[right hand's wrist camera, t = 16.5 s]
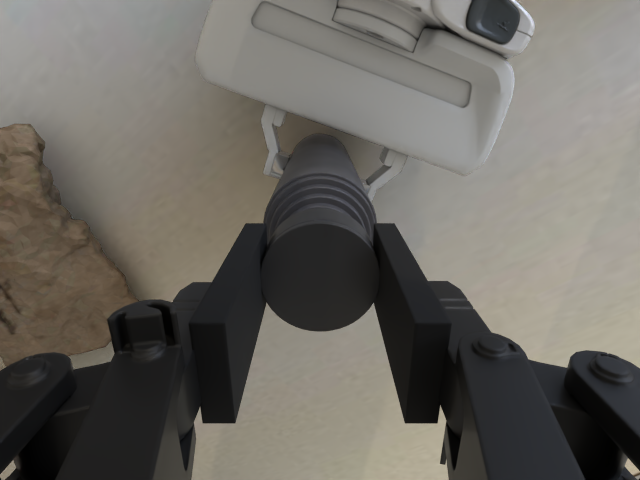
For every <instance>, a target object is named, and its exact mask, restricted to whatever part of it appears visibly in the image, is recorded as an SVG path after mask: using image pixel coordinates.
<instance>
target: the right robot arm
mask: <svg viewBox="0 0 640 480" xmlns="http://www.w3.org/2000/svg"><path fill="white" fill-rule="evenodd" d="M267 247H268V245H267V226H266V223H246V224H245V226H244V228H243V229H242V231H241V233H240V234H239V236H238V238H237V240H236V241H235V243H234V245H233V247H232V248H231V250H230V252H229V254H228V255H227V257H226V259H225V260H224V262H223V264H222V266H221V267H220V269H219V271H218V273H217V274H216V276H215V278H214V280H213V281H212V282H193V283H191V284H190V285H188V286H187V287H185V288H184V289H182V290H180V292H179V293H178V294H177V296H176V297H175V299H174V300H173V302H172V303H171V302H168V301H164V300H145V301H139V302H135V303H132V304H129V305H126V306H124V307H122V308H120V309H118V310H117V311H115V312H113V313H112V314H111V315H110V316H109V318H108V319H107V322H108V327H109V331H110V335H111V340H112V344H113V348H114V353H115V354H114V356H113V359H112V361H111V362H107V363H103V364H99V365H94V366H89V367H84V368H79V369H74V370H73V367H72V363H71V359H70V358H69V357H68V356H66V355H65V354H62V353H56V352H51V353H40V354H35V355H33V356H32V355H31V356H28V357H25V358H23V359H21V360H19V361H17V362H15V363H12V364H10V365H9V366H7V367H6V368H4V369H3V370H1V371H0V474H1V473H2V472H3V470H4V469H5V468H6V467H7V466H8V465H9V464H10V463H11V461H12V460H14V463H15V465H16V469H15V470H14V471H13V472H12V474H11V475H10V476H9V477H7V478H6V479H5V480H191V477H192V469H193V461H194V452H195V444H196V434H195V428H194V420H195V418H196V415H197V413H198V410H199V407H201V414H202V421H203V423H235V422H236V418H237V415H238V411H239V407H240V403H241V399H242V395H243V391H244V387H245V384H246V380H247V376H248V372H249V368H250V364H251V360H252V356H253V353H254V349H255V345H256V341H257V337H258V333H259V329H260V325H261V322H262V318H263V314H264V310H265V306H266V300H265V298H264V295H263V293H262V289H261V273H260V269H261V265H262V261H263V258H264V255H265V253H266V250H267ZM373 248H374V251H375V254H376V257H377V260H378V263H379V267H380V277H379V291H378V294H377V297H376V299H375V301H374V305H375V309H376V313H377V317H378V321H379V325H380V328H381V332H382V336H383V340H384V344H385V348H386V352H387V356H388V359H389V363H390V367H391V371H392V375H393V379H394V383H395V387H396V390H397V394H398V398H399V402H400V406H401V410H402V414H403V418H404V421H405V423H438V416H439V409H440V405H441V407H442V410H443V413H444V415H445V418H446V420H447V421H446V428H445V434H444V441H443V447H442V453H441V461H440V464H444V465H445V463H446V460H447V468H448V477H449V480H637V479H636V478H635V477H634V476H633V475H632V474H631V473H630V472H629V471H628V470H627V469H626V468H625V463H626V461H627V458H629V459H630V460H631V462H632V463H633V464H634V465H635V466H636V467H637V468H638V469H639V471H640V368H638V367H637V366H635V365H633V364H632V363H630V362H628V361H626V360H624V359H621V358H619V357H618V356H615V355H612V354H607V353H605V352H598V351H587V350H586V351H580V352H576V353H575V354H573V355H572V356H571V357H570V361H569V364H568V368H565V367H560V366H555V365H550V364H545V363H540V362H536V361H532V360H528V358H527V356H526V354H525V352H524V351H523V350H522V348H521V347H520V346H519V345H518V344H516V343H515V342H513V341H512V340H510V339H508V338H506V337H504V336H501V335H499V334H495V333H491V331H490V330H489V329H488V327H487V326H486V324H485V323H484V322H483V320H482V319H481V317H480V316H479V315H478V313H477V312H476V311H475V309H473V306H472V305H471V304H470V302H469V301H467V298H466V297H465V295H464V294H463V292H462V291H461V290H460V289H459V288H457V287H456V286H454V285H453V284H451V283H450V282H448V281H427V279H426V277H425V276H424V274H423V272H422V270H421V269H420V267H419V265H418V263H417V262H416V260H415V258H414V257H413V255H412V253H411V251H410V250H409V248H408V246H407V244H406V243H405V241H404V239H403V237H402V236H401V234H400V232H399V231H398V229H397V227H396V225H395V224H394V223H374V230H373ZM0 480H1V478H0ZM639 480H640V479H639Z"/></svg>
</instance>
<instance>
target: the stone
mask: <svg viewBox="0 0 640 480" xmlns="http://www.w3.org/2000/svg"><path fill="white" fill-rule="evenodd" d="M44 149H45V142H44V140H43V139H42V138H41V137H40V136H39V135H38V134H37V133H36V131H35V129H34V128H33V127H32V126H31V125H30V124H13V125H10V126H8V127H3V128H0V356H1V357H2V358H3V362H4V364H5V365H6V366H9V365H10V364H12V363H15V362H17V361H19V360H21V359H23V358H25V357H28V356H31V355H32V356H33V355H35V354H40V353H51V352H56V353H62V354H65V355H66V356H70V355H74V354H80V353H85V352H88V351H92V350H95V349H98V348H102V347H106V346H107V345H108V343H109V342H110V341H111V335H110V331H109V327H108V322H107V319H108V318H109V316H110V315H111V314H112V313H113V312H115V311H117V310H118V309H120V308H122V307H124V306H126V305H129V304H132V303H135V302H139V301H138V299H137V298H136V297H135V296H134V295H133V294H132V293H131V292H130V291H129V289H128V286H127V284H126V279H125V275H124V274H123V273H121V271H120V270H119V269H118V268H116V267H115V265H114V263H113V262H111V261H110V260H108V258H107V257H106V256H105V254H104V253H103V251H102V249H101V245H100V243H99V242H98V241H97V240H96V239H95V238H94V236H93V234H92V233H91V231H90V228H89V226H88V225H87V223H86V222H85V221H83V220H73V219H71V216H70V213H69V211H68V210H67V209H66V208H65V207H63V206H62V205H61V199H60V194H59V191H58V189H57V188H56V187H55V186H54V185H53V178H52V174H51V171H50V170H49V169H48V168H47V167H46V166H45V165H44V164H43V161H42V159H43V150H44Z"/></svg>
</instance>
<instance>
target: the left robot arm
mask: <svg viewBox="0 0 640 480" xmlns="http://www.w3.org/2000/svg"><path fill="white" fill-rule="evenodd" d="M534 29H535V24H534V21H533V19H532V17H531V16H530V14H529V13H528V12H527V11H526V10H525V9H524V8H523V7H522V6H521V5H520V4H519V3H518V2H517V1H516V0H212V3H211V5H210V8H209V11H208V13H207V16H206V19H205V22H204V25H203V28H202V32H201V35H200V38H199V42H198V45H197V49H196V54H195V64H196V67H197V69H198V71H199V74H200V76H201V78H202V79H203V80H204V81H205V82H208V83H211V84H213V85H216V86H219V87H221V88H224V89H227V90H230V91H232V92H235V93H238V94H241V95H243V96H246V97H249V98H252V99H254V100H257V101H260V102H263V103H265V108H264V111H263V115H262V118H261V124H262V128H263V132H264V136H265V141H266V145H267V149H268V150H269V154H268V157H267V160H266V164H265V167H264V170H263V174H265V175H268V176H271V177H274V178H277V179H280V178H281V176H282V174H283V172H284V170H285V168H286V166H287V164H288V161H289V159H290V156H291V154H289V153H287V152H284V151H281V148H280V143H279V139H278V134H277V129H276V126H277V127H280V126H282V125H283V124H284V121H285V118H286V115H287V112H290V113H293V114H295V115H298V116H301V117H304V118H306V119H309V120H312V121H315V122H317V123H320V124H323V125H326V126H328V127H331V128H334V129H337V130H339V131H342V132H345V133H347V134H350V135H353V136H356V137H358V138H361V139H364V140H367V141H369V142H372V143H375V144H378V145H380V146H383V147H384V148H383V151H382V153H381V156H380V161H381V162H382V163H383V164H384V165H383V166H382V167H381V168H379V169H378V170H377V171H376V172H375V173H374V174H372V175H371V176H370V177H369V178H368V179H367V180H364V179H360V180H361V182H362V184H363V186H364V188H365V190H366V193H367V195H368V197H369V199H370V201H371V202H372V200H373V197H374V195H375V193H376V190H377V188H378V189H379V188H381V187H382V186H383V185H384V184H386V183H387V182H388V181H390V180H391V179H392V178H393V177H395V176H396V175H397V174H398V173H400V172H401V171H402V168H403V166H404V164H405V161H406V159H407V157H408V156H410V157H413V158H416V159H419V160H421V161H424V162H427V163H430V164H432V165H435V166H438V167H441V168H443V169H446V170H449V171H452V172H454V173H457V174H460V175H463V176H466V175H468V174H470V173H472V172H474V171H475V170H477V169H479V168H480V167H481V166H482V165H483V164H484V163H485V161H486V159H487V157H488V156H489V154H490V151H491V149H492V147H493V145H494V143H495V141H496V139H497V136H498V134H499V131H500V129H501V127H502V124H503V122H504V119H505V116H506V114H507V111H508V108H509V105H510V102H511V99H512V95H513V91H514V82H515V80H514V73H513V69H512V67H511V65H510V64H509V62H508V61H507V60H506V59H508V58H511V57H514V56H516V55H518V54H520V53H522V52H523V51H524V49H525V48H526V47H527V45H528V43H529V41H530V40H531V37H532V35H533V33H534Z"/></svg>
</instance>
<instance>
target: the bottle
mask: <svg viewBox="0 0 640 480" xmlns="http://www.w3.org/2000/svg"><path fill="white" fill-rule="evenodd" d="M313 208H327V209H333V210H337V211H340V212H342V213H345V214H347V215H348V216H350V217H352V218H353V219H355V220H356V221H357V222H358V223H359V224H360V225H361V226H362V227H363V228H364V230H365V231H366V232H367V234H368V236H369V238H370V240H371V243H372V245H373V230H374V223H377V220H376V214H375V211H374V208H373V205H372V203H371V201H370V199H369V197H368V195H367V193H366V190H365V188H364V186H363V184H362V182H361V180H360V178H359V176H358V174H357V172H356V170H355V168H354V165H353V163H352V161H351V159H350V157H349V155H348V153H347V151H346V149H345V147H344V146H343V145H342V143H341V142H340V141H338V140H337V139H336V138H334V137H332V136H329V135H326V134H314V135H311V136H308V137H306V138H304V139H303V140H302V141H300V142H299V143H298V145H297V146H296V147H295V149H294V151H293V153H292V155H291V157H290V159H289V161H288V164H287V166H286V168H285V170H284V172H283V174H282V176H281V178H280V180H279V183H278V185H277V187H276V189H275V191H274V193H273V195H272V197H271V199H270V202H269V204H268V206H267V208H266V212H265V216H264V223H266V226H267V245H268V244H269V241H270V238H271V237H272V235H273V233H274V231H275V230H276V229H277V227H278V226H279V225H280V224H281V223H282V222H283V221H285V220H286V219H287V218H289V217H290V216H292V215H294V214H296V213H298V212H300V211H304V210H307V209H313Z"/></svg>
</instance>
